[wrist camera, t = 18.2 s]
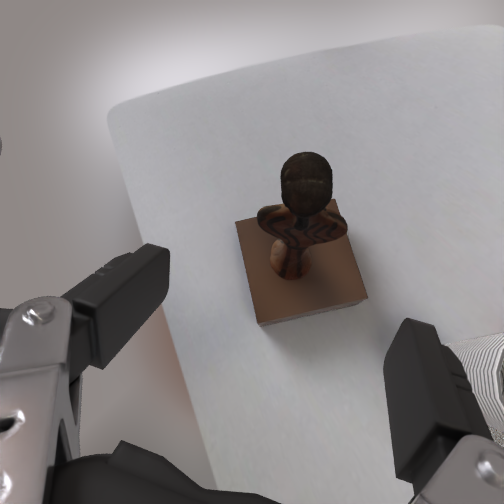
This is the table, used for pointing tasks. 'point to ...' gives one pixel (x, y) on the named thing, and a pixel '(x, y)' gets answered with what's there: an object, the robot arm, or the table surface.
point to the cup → (485, 374)
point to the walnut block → (304, 289)
